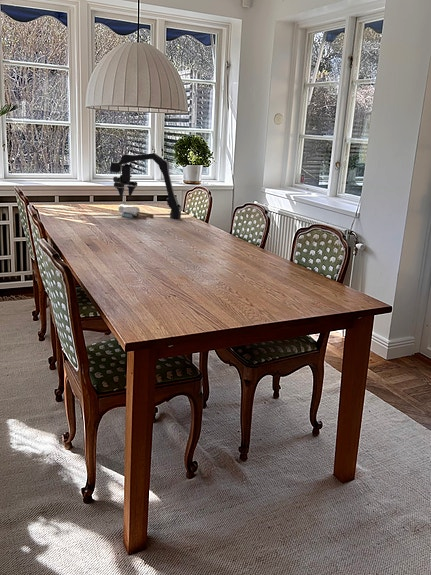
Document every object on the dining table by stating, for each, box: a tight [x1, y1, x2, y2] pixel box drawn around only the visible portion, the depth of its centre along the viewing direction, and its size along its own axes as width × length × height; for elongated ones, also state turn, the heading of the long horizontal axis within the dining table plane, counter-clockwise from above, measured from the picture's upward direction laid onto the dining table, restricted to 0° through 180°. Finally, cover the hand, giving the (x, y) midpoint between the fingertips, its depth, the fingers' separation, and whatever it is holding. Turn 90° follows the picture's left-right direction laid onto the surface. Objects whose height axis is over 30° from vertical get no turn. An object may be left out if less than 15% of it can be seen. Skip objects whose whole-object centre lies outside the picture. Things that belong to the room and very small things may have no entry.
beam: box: [120, 211, 154, 220], centre depth 353 cm, size 22×9×3 cm, turn 61°
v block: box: [121, 213, 138, 220], centre depth 347 cm, size 8×6×3 cm
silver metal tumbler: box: [118, 204, 141, 216], centre depth 346 cm, size 13×6×6 cm, turn 61°
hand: (125, 197), depth 355 cm, fingers open, 9 cm apart
